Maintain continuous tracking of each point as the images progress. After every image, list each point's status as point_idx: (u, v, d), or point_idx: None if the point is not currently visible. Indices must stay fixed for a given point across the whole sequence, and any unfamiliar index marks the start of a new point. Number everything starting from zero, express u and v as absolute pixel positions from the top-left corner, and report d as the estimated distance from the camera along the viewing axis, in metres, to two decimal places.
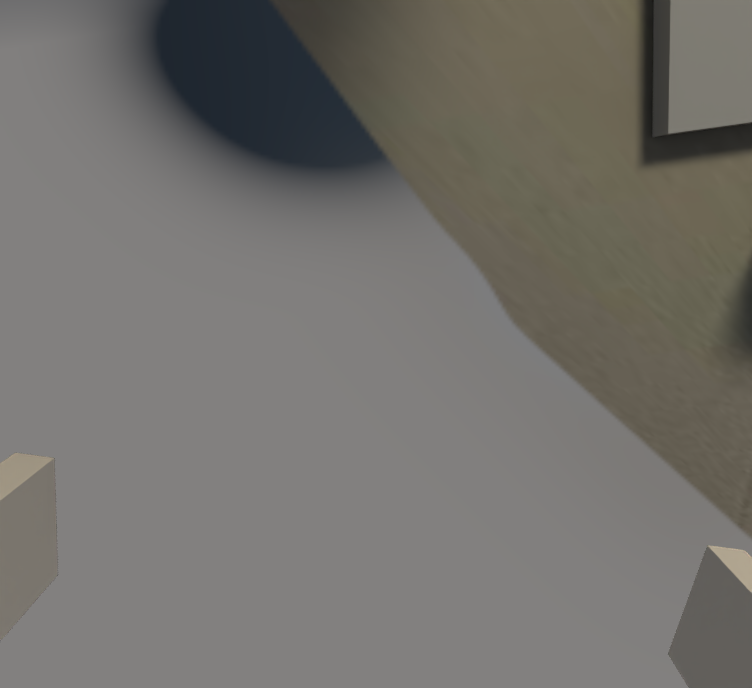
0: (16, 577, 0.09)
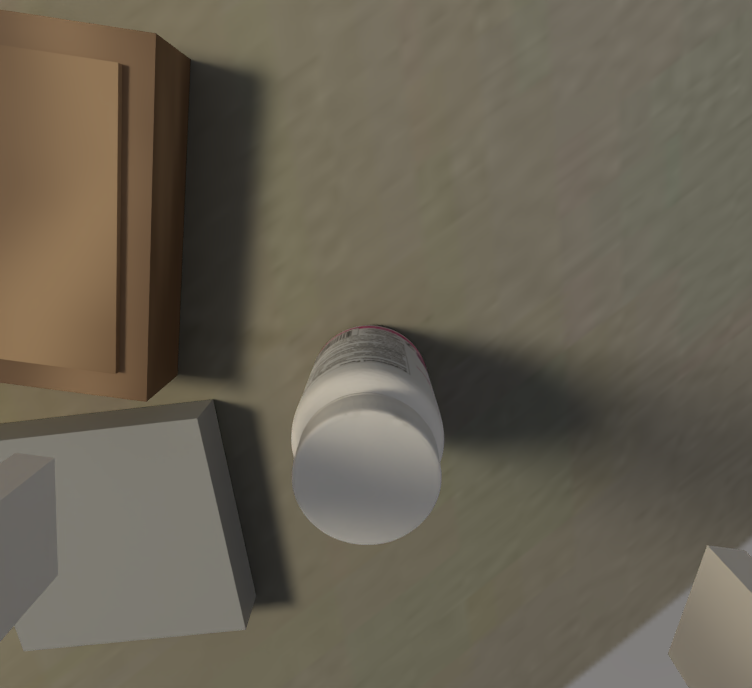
0: (16, 577, 0.09)
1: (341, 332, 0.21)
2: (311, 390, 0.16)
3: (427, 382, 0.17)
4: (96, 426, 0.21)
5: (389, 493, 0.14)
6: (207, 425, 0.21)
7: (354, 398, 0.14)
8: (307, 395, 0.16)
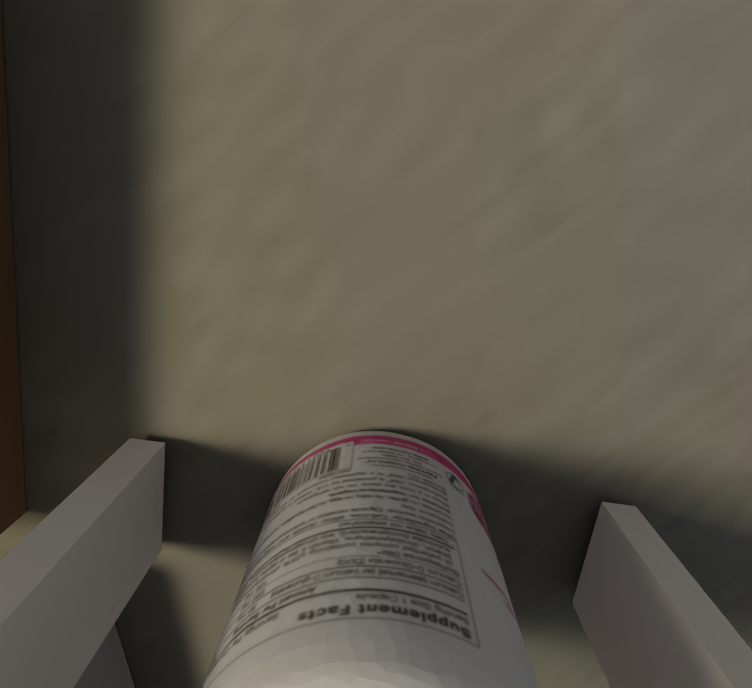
0: (138, 548, 0.11)
1: (321, 445, 0.11)
2: None
3: (510, 620, 0.07)
4: None
5: None
6: None
7: None
8: None
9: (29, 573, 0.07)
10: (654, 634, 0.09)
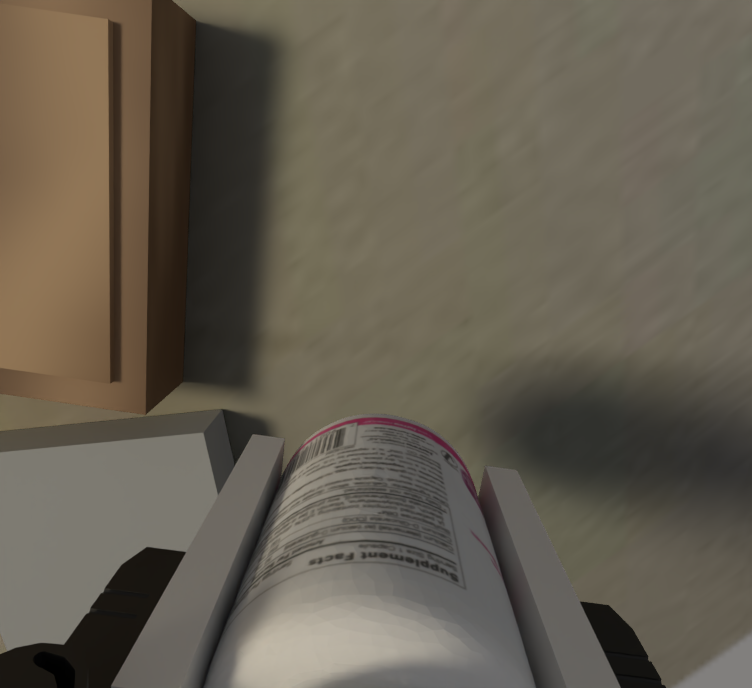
0: None
1: (327, 426, 0.12)
2: (239, 636, 0.07)
3: (495, 574, 0.08)
4: (93, 439, 0.18)
5: None
6: (215, 439, 0.19)
7: None
8: (229, 648, 0.07)
9: (222, 551, 0.08)
10: (503, 577, 0.10)
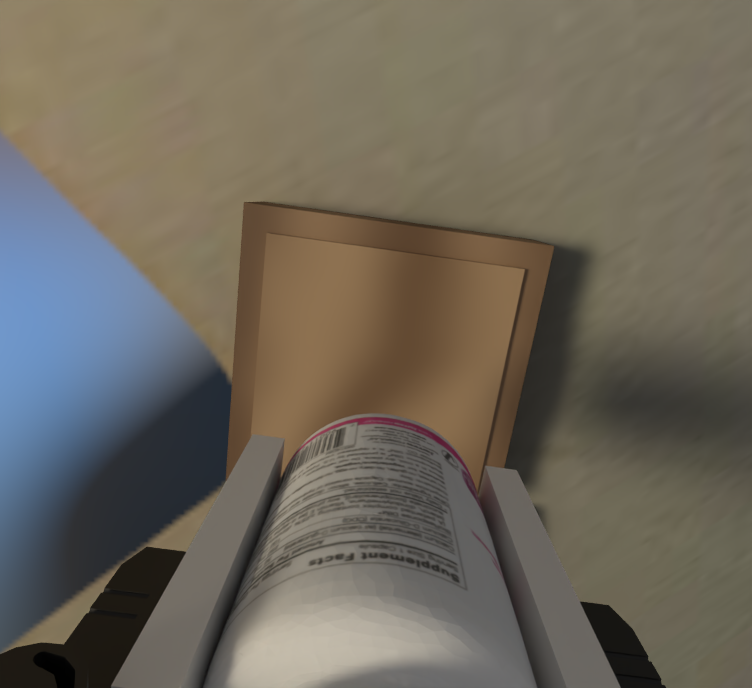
0: None
1: (327, 426, 0.12)
2: (238, 637, 0.07)
3: (496, 574, 0.08)
4: None
5: None
6: None
7: None
8: (229, 649, 0.07)
9: (222, 552, 0.08)
10: None
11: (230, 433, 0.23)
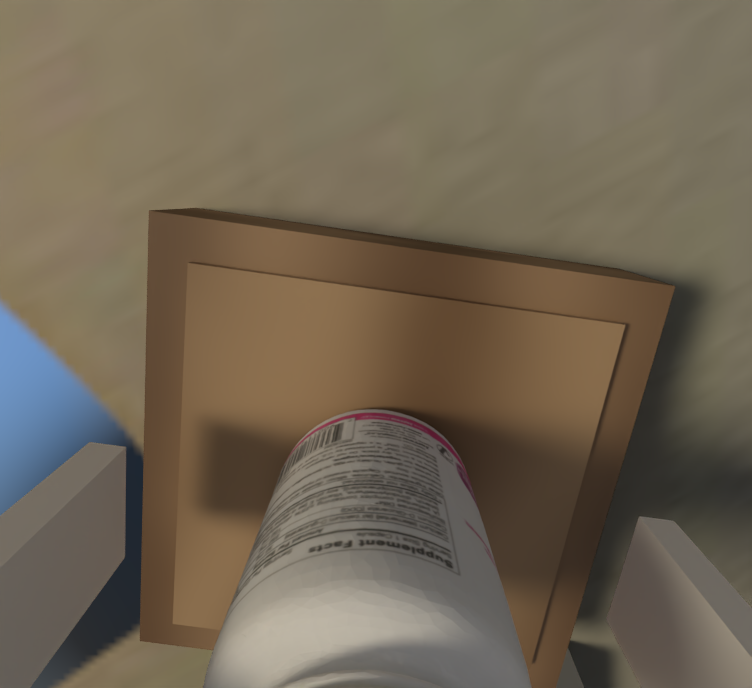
0: (95, 557, 0.10)
1: (326, 422, 0.12)
2: (241, 620, 0.07)
3: (488, 562, 0.09)
4: None
5: None
6: None
7: None
8: (232, 631, 0.07)
9: None
10: (704, 658, 0.09)
11: (143, 573, 0.14)
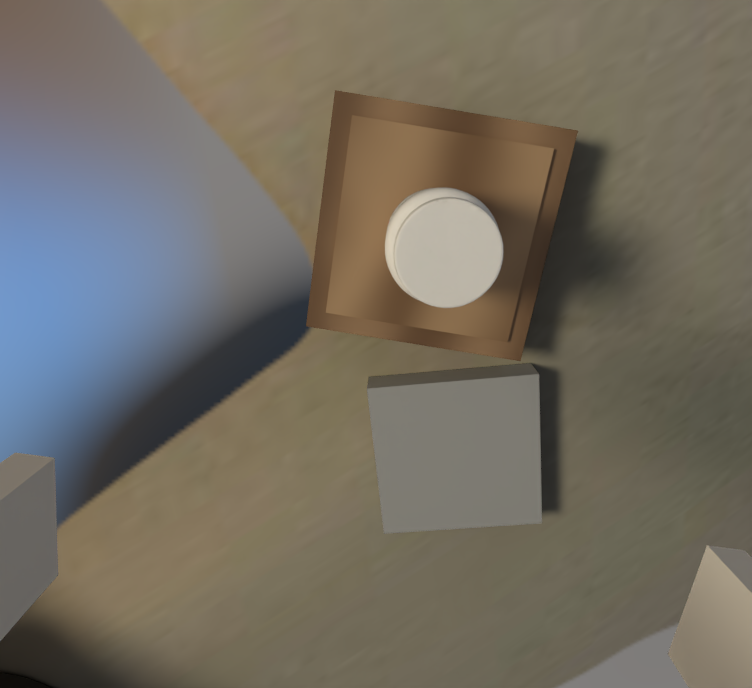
0: (16, 577, 0.09)
1: None
2: (402, 205, 0.21)
3: None
4: (465, 378, 0.31)
5: (465, 265, 0.19)
6: None
7: (440, 197, 0.19)
8: (399, 209, 0.21)
9: None
10: None
11: (312, 285, 0.28)
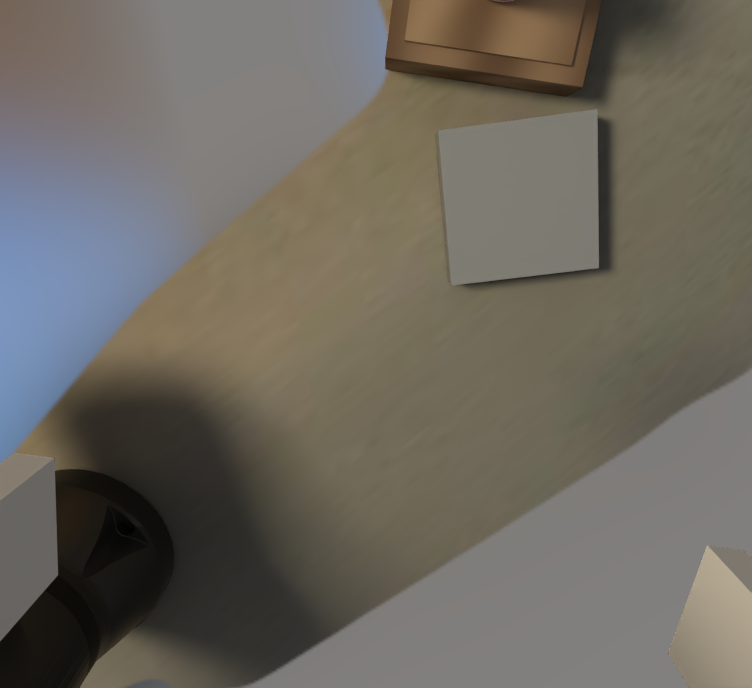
0: (16, 577, 0.09)
1: None
2: None
3: None
4: (529, 119, 0.33)
5: None
6: None
7: None
8: None
9: None
10: None
11: (392, 13, 0.31)
